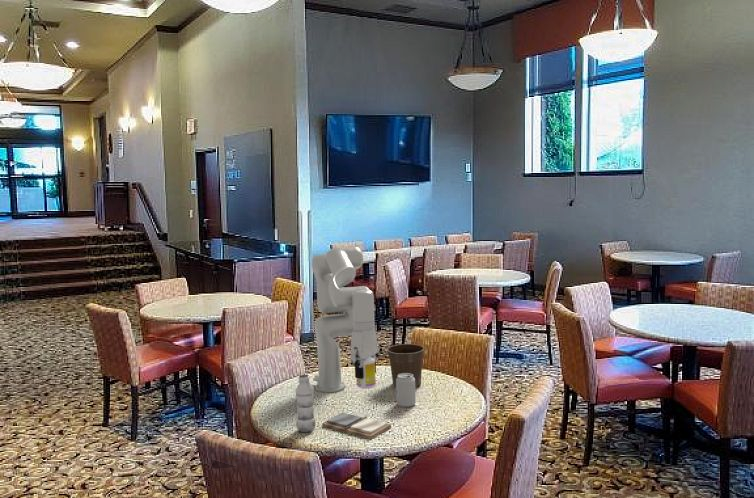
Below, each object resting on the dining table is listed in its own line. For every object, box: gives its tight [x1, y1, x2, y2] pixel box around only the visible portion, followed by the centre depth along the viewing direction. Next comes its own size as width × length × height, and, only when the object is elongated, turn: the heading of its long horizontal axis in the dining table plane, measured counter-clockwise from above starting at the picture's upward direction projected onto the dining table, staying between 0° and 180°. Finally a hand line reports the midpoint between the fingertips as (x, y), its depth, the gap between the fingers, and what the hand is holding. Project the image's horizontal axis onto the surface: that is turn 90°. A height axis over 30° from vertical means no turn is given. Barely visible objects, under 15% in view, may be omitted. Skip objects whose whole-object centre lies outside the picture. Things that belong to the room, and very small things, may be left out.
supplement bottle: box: [356, 352, 377, 390], centre depth 217 cm, size 7×7×13 cm
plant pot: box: [386, 343, 425, 389], centre depth 266 cm, size 16×16×16 cm
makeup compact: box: [321, 412, 392, 440], centre depth 222 cm, size 22×12×2 cm, turn 54°
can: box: [395, 373, 417, 408], centre depth 242 cm, size 8×8×12 cm
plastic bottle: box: [295, 374, 316, 433], centre depth 219 cm, size 6×7×20 cm
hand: (365, 374), depth 217 cm, fingers closed on supplement bottle, 6 cm apart
